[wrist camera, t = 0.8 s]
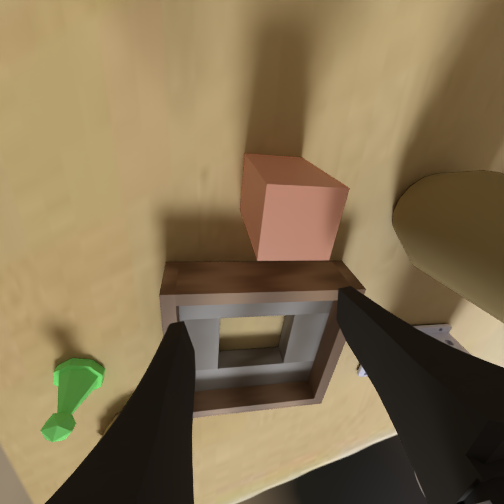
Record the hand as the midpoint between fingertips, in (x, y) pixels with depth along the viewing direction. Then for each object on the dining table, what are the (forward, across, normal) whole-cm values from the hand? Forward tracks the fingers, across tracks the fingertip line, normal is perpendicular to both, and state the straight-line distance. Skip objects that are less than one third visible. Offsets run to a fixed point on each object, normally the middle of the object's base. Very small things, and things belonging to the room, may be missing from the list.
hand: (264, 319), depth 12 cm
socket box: (+10, 0, +11) cm, 14 cm away
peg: (+10, -3, -3) cm, 10 cm away
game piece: (+10, +17, +12) cm, 23 cm away
